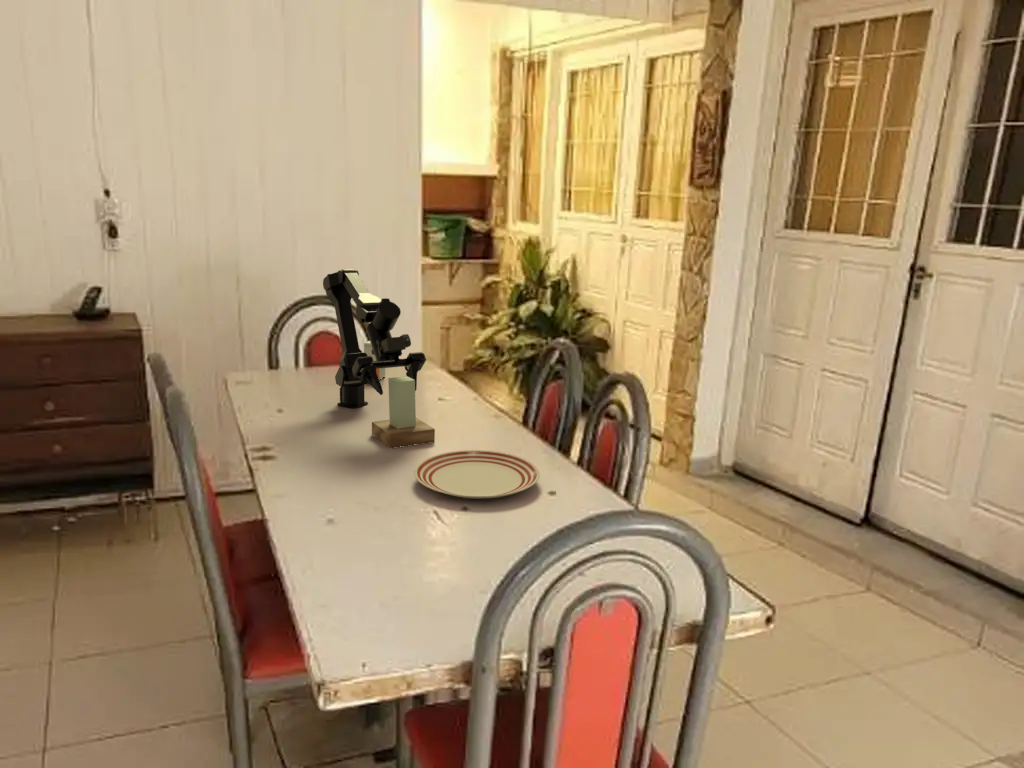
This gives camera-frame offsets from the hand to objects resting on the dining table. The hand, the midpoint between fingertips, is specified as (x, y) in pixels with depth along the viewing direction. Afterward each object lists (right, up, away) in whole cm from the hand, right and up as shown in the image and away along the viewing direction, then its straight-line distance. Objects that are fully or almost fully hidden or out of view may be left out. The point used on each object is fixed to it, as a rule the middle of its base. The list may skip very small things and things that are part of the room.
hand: (398, 392), depth 208 cm
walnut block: (+1, -12, +1) cm, 12 cm away
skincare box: (-16, +4, +62) cm, 64 cm away
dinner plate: (+21, -20, -28) cm, 40 cm away
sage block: (+1, -8, 0) cm, 8 cm away
